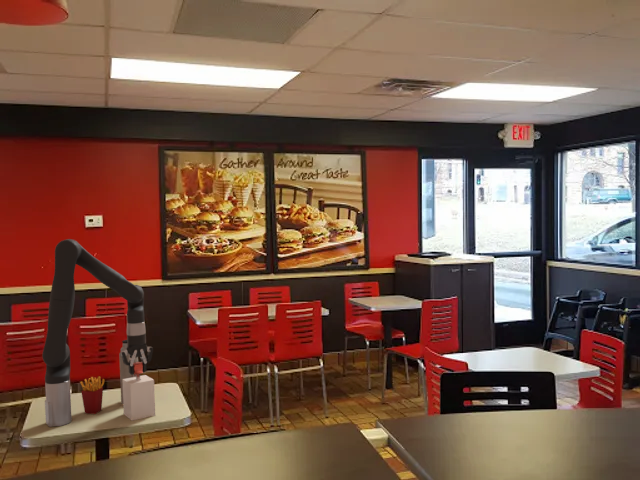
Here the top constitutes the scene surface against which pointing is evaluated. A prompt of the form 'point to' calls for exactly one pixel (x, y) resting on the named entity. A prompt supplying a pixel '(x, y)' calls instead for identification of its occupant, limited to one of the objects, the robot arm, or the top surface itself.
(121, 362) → the thermos bottle
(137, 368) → the pump plunger
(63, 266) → the robot arm
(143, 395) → the pump dispenser
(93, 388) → the french fries
